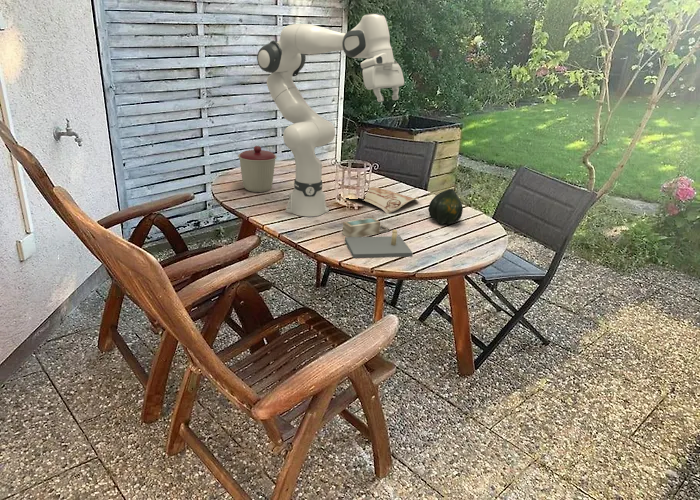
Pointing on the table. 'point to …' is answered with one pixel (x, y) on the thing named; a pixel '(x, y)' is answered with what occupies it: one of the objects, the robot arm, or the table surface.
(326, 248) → the table surface
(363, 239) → the board
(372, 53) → the robot arm
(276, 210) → the table surface
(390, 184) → the table surface
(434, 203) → the squash
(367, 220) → the frame
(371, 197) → the poster
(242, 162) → the canister
